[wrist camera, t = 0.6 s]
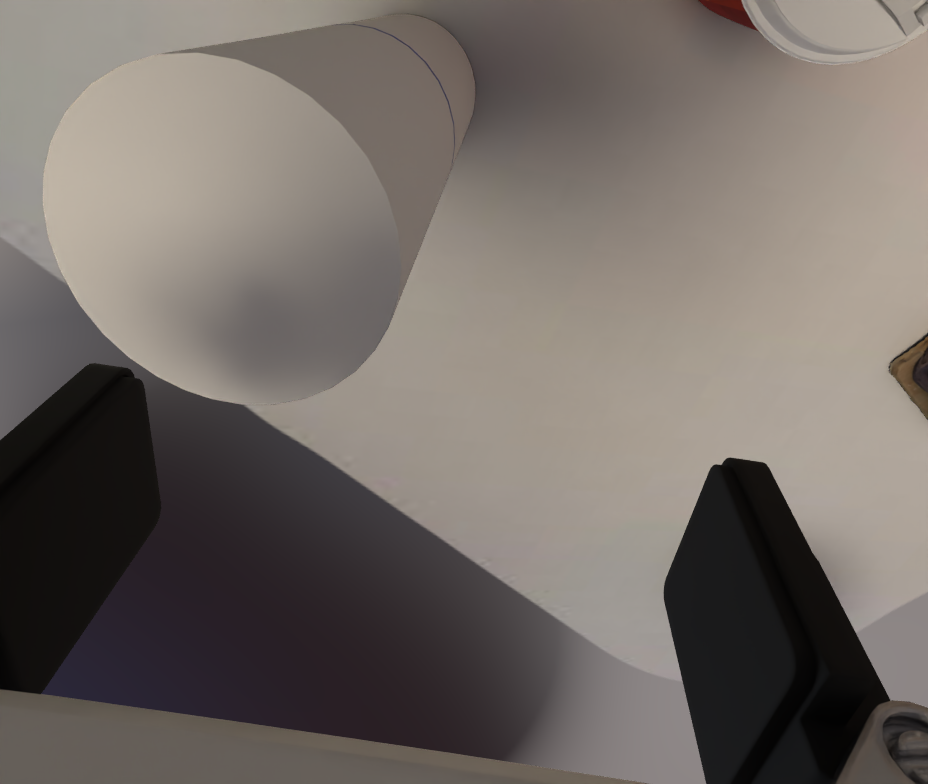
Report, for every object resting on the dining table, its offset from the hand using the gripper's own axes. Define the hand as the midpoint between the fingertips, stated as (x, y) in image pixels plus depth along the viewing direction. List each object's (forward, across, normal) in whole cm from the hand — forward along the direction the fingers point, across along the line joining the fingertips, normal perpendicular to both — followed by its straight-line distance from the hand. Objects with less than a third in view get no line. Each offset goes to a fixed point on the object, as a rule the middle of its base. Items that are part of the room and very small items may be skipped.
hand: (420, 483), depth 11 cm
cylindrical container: (+29, +5, -2) cm, 29 cm away
